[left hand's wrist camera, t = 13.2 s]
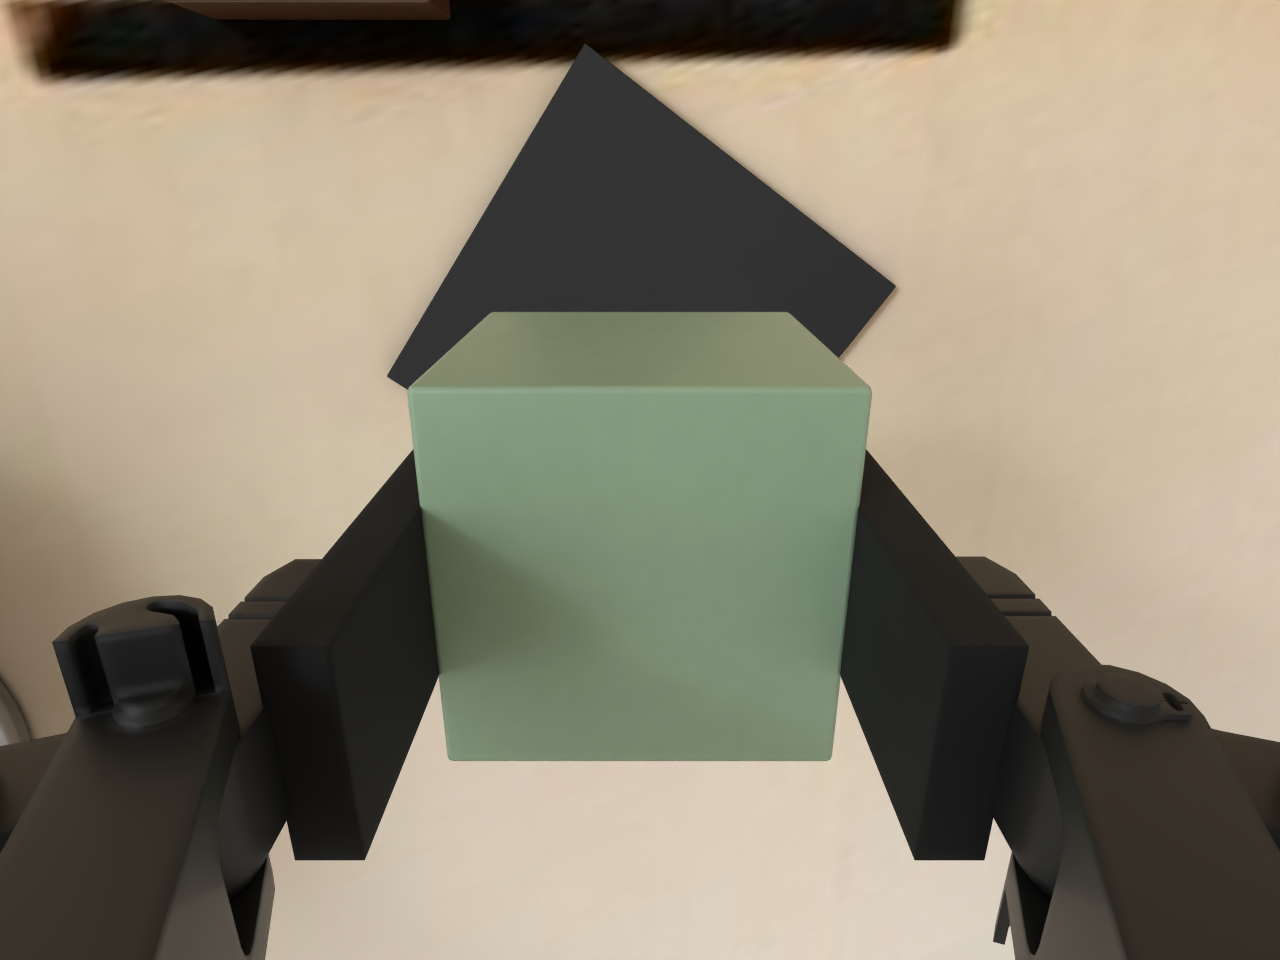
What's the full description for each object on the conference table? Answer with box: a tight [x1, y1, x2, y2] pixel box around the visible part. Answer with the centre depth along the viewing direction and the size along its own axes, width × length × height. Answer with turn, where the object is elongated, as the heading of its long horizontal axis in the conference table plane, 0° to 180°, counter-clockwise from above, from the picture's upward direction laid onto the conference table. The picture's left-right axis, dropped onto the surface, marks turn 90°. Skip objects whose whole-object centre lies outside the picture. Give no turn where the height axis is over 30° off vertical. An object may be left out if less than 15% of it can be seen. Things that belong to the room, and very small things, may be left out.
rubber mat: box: [387, 44, 896, 389], centre depth 30 cm, size 14×14×1 cm
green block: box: [407, 312, 872, 761], centre depth 14 cm, size 6×6×6 cm
